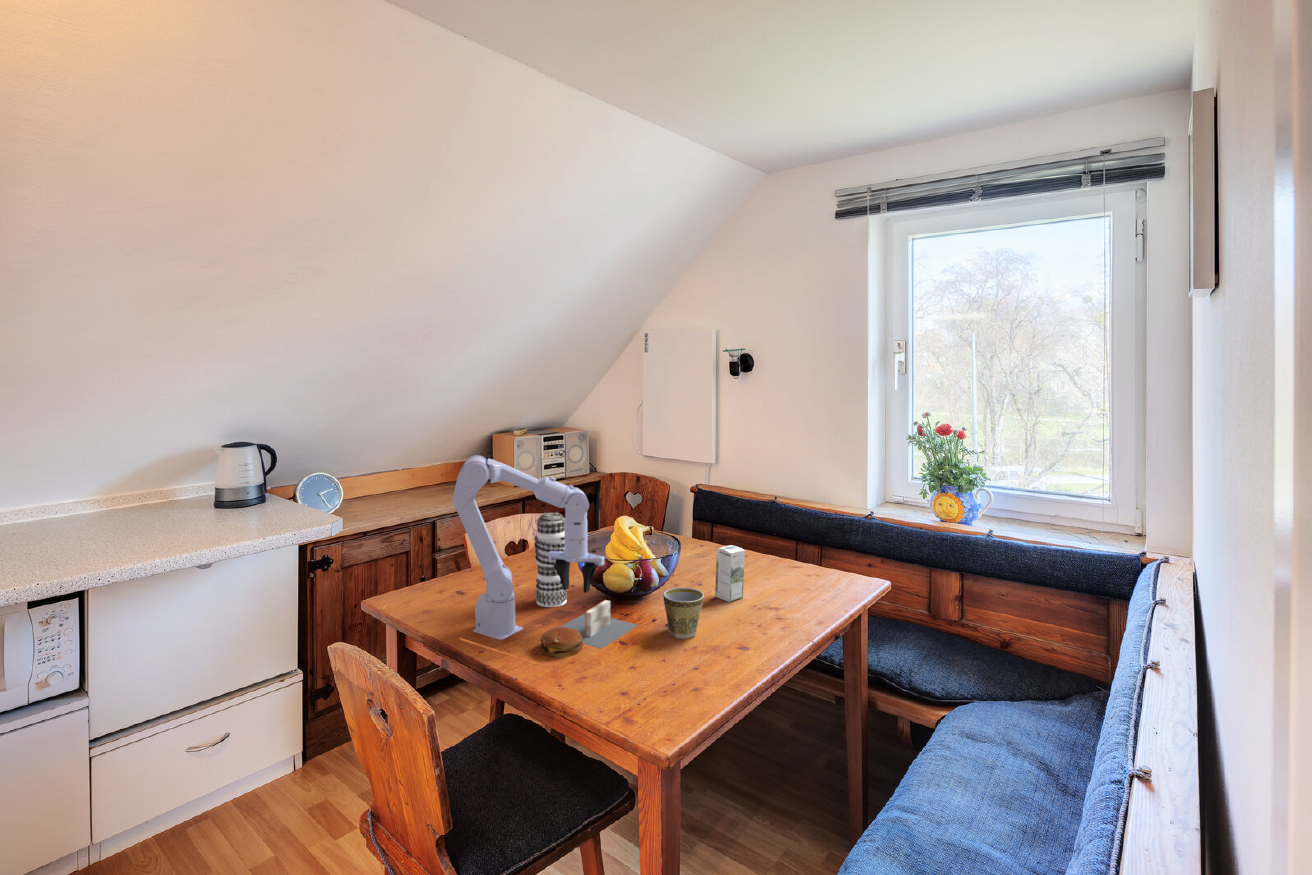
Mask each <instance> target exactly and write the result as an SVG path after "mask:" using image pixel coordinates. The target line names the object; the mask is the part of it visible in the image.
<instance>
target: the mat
mask: <svg viewBox="0 0 1312 875" xmlns="http://www.w3.org/2000/svg"><path fill="white" fill-rule="evenodd" d="M637 626H639V625H638V624H635V623H632V622H627V621H623V620H619V619H617V618H613V617H612V618H611V617H610V624H609V625H608V626H606V627H605V628H603V629H602V630H600V631H599V632H597V633H596V634H594V635H593V636H591V637H590V636H586V635H585V613H583V614H581V615H579V616H578V617H575V618H574V619H572V620H569V622H566V623H564V624H563V625H561V626H560V627H567V628H571V629H574V630H576V631H578V632H579V633H580V634H581V636H582V641H583V645H587V646H591V647H595V648H598V649H603V648H605V647H607V646H608V645H609V644H611V643H613V642H614V641H616V640H617V639H619V638H621V637H622V636H624V635H626V634H627V633H628V632H630V631H632V630H633V629H635V628H636V627H637Z"/></svg>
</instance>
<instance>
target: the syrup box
mask: <svg viewBox="0 0 1312 875" xmlns="http://www.w3.org/2000/svg"><path fill="white" fill-rule="evenodd" d="M745 553H746V550H745V549H743V548H742V547H739V546H737V545H732V544H731V545H725V546H722V547H718V548H717V549H716V559H715V560H716V565H715V567H716V568H715V587H714V588H715V593H714V595H715V596H714V597H716V598H718V599H720V600H722V601H725V602H728V603H731V602H734V601H737V600H740V599H742V598H743V597H744V577H745V576H744V575H745V558H746V557H745Z"/></svg>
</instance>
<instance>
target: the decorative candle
mask: <svg viewBox="0 0 1312 875" xmlns="http://www.w3.org/2000/svg"><path fill="white" fill-rule="evenodd" d="M564 520H565V517H564V516H563V515H562V514H561V513H559V512H544V513H541V514H540V515H539V517H538V518H537V519H536V520H535V521H536V523H537V526H536V535H534V539H533V540H534V541H535V542H534V547H535V550H534V553H535V555H534V558H535V564H537V572H536V579H535V583H536V585H535V587H536V591H535V594H536V596H535V599H536V604H537V605H538V606H540V607H545V608H555V607H562V606H564V605H565V604H566V603H568V602H567V601H568V600H567V598H568V594H567V593H568V589H566V590H563V587H562V583H561V580H560V577H559V575H558V573H557V571H556V569H555V568H554V564H555V563H556V560H552V561H550V560H548V553H549V552H551V551H565V536H564Z"/></svg>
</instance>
